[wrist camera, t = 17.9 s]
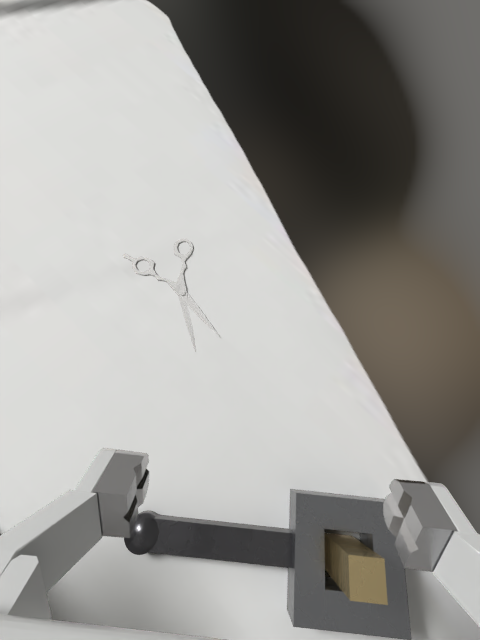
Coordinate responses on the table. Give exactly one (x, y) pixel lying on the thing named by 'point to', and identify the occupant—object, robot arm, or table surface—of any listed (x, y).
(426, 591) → the table surface
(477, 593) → the robot arm
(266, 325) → the table surface
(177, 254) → the scissors
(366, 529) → the grey handled square frame
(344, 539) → the bar
